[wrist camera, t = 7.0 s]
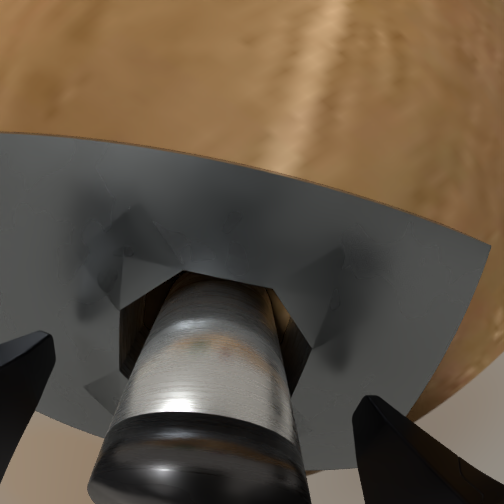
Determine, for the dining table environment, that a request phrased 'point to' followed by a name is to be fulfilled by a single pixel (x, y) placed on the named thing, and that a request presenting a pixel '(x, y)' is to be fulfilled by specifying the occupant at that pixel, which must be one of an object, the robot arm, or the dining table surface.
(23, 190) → the jig
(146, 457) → the metal cylinder peg
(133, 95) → the dining table surface
